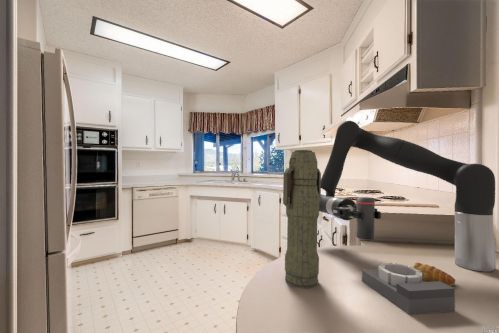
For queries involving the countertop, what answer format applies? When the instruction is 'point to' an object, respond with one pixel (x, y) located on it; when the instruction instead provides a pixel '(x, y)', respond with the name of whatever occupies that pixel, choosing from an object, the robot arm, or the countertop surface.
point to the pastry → (434, 274)
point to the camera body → (410, 289)
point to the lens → (366, 218)
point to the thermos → (302, 218)
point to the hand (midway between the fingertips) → (370, 215)
